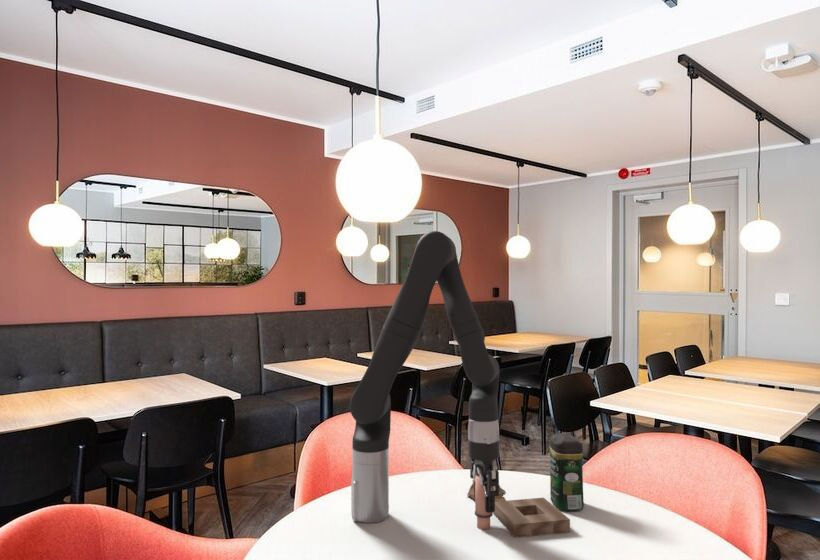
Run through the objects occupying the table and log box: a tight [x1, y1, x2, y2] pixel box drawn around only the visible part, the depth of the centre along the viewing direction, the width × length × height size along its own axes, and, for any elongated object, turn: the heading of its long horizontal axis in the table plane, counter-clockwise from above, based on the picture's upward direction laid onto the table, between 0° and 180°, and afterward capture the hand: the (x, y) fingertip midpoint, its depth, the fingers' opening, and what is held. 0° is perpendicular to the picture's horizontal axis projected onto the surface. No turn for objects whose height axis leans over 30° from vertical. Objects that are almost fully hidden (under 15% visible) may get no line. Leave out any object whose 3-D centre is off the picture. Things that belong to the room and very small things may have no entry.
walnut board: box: [493, 497, 571, 538], centre depth 134 cm, size 14×14×3 cm
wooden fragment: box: [466, 483, 506, 502], centre depth 154 cm, size 26×11×1 cm, turn 179°
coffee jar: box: [549, 432, 584, 512], centre depth 145 cm, size 10×8×19 cm
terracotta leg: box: [474, 475, 494, 531], centre depth 132 cm, size 4×4×12 cm
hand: (484, 505), depth 132 cm, fingers open, 7 cm apart
